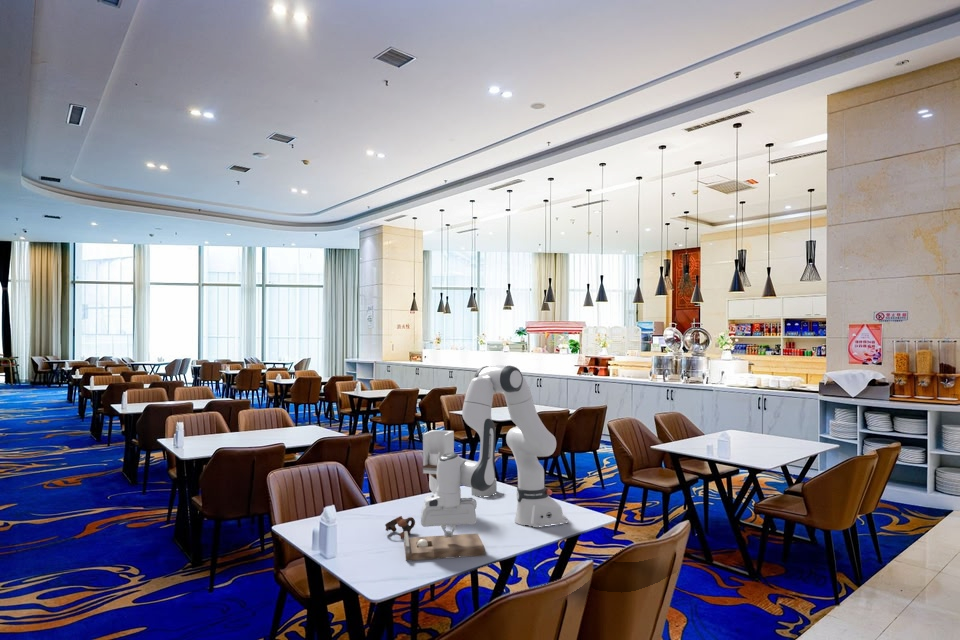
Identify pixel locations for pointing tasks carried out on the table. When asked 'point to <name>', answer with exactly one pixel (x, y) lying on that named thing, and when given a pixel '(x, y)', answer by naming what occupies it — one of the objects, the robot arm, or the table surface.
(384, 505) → the table surface
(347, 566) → the table surface
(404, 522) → the brown looped piece
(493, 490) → the lumpy-topped squat cylinder
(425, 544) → the ball
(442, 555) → the board
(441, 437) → the white shelf tower
